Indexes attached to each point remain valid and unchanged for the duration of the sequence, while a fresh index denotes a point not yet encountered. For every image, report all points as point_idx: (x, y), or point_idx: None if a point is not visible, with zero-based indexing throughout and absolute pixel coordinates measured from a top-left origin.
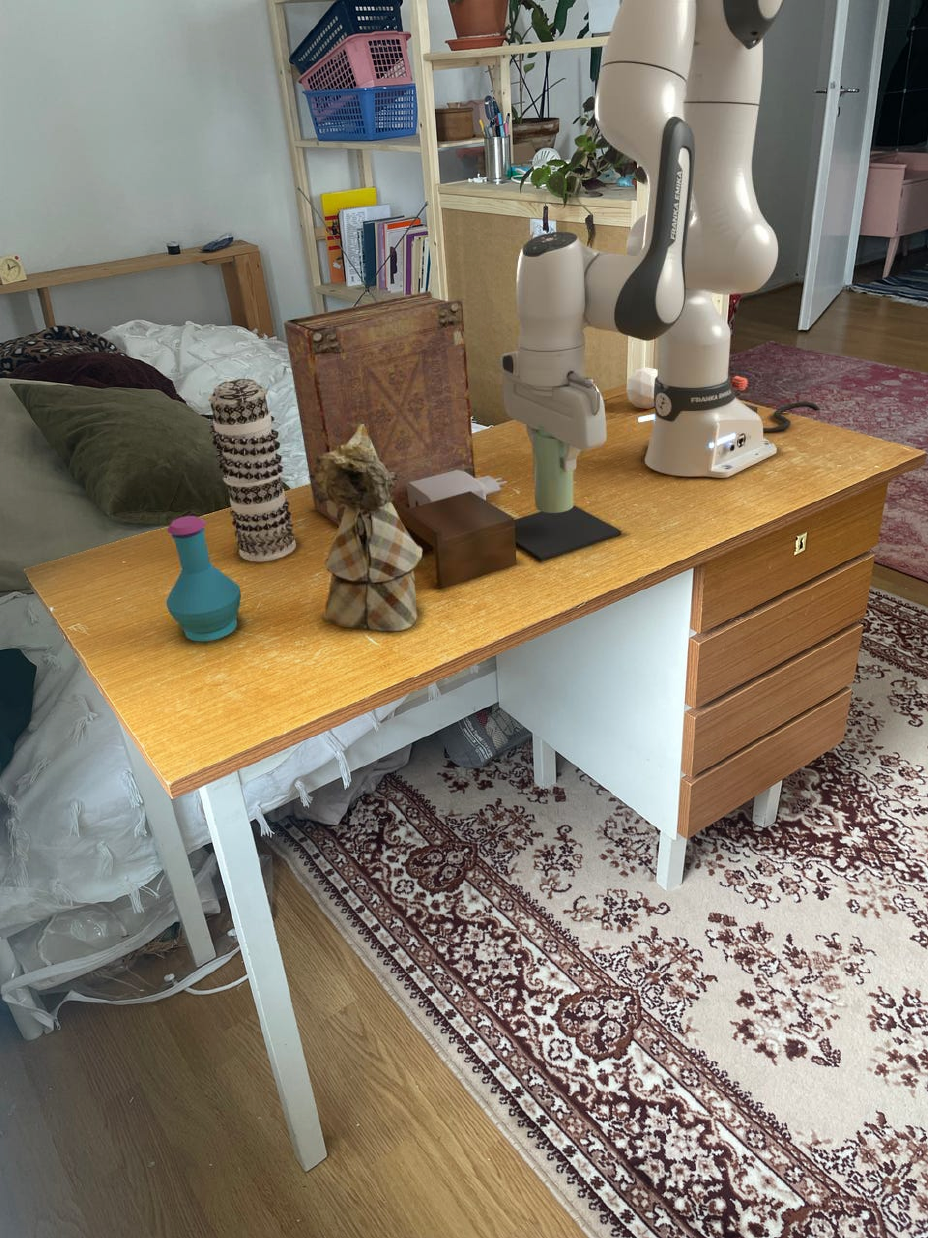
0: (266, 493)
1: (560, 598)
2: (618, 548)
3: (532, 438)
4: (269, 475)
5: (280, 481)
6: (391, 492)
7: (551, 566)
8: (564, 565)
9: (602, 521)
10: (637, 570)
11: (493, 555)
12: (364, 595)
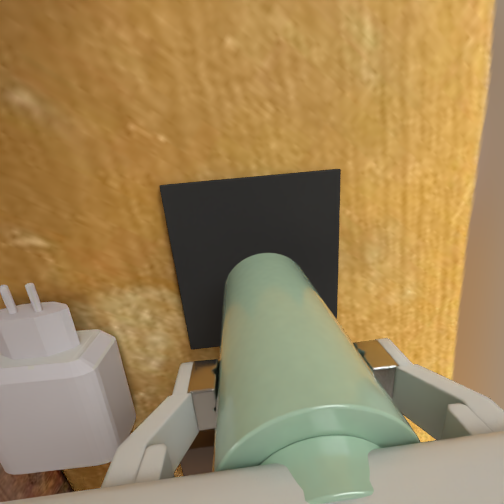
0: None
1: (433, 348)
2: (376, 205)
3: (182, 458)
4: None
5: None
6: (18, 476)
7: (355, 321)
8: (365, 305)
9: (282, 177)
10: (454, 222)
11: None
12: None
